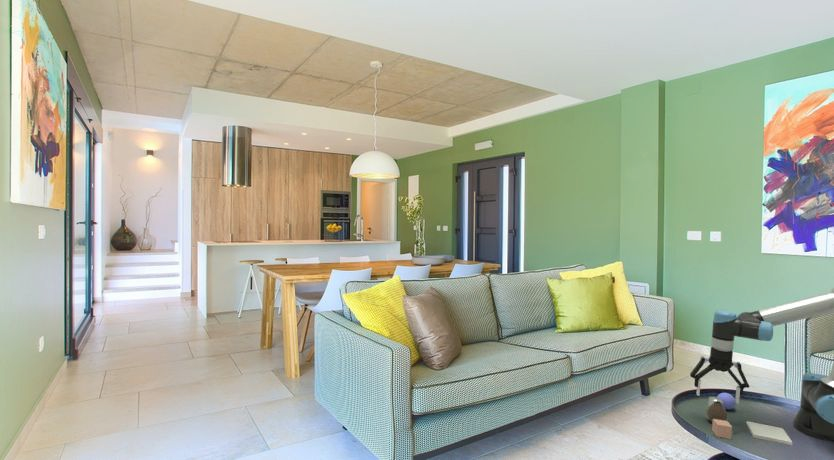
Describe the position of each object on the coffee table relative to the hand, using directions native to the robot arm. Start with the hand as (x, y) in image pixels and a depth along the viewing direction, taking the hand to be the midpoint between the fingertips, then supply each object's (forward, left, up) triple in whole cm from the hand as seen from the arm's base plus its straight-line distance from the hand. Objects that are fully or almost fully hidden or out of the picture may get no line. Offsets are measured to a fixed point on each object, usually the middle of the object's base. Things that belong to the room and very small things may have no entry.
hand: (717, 398), depth 183 cm
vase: (0, 0, -10) cm, 10 cm away
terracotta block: (0, +11, -10) cm, 15 cm away
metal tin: (-1, -11, -10) cm, 15 cm away
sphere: (-6, -18, -10) cm, 22 cm away
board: (-17, +1, -10) cm, 20 cm away
